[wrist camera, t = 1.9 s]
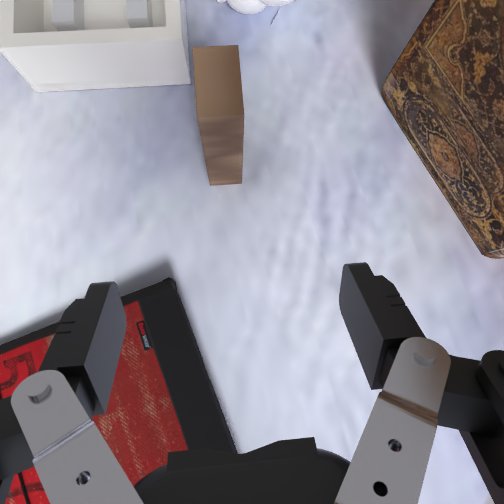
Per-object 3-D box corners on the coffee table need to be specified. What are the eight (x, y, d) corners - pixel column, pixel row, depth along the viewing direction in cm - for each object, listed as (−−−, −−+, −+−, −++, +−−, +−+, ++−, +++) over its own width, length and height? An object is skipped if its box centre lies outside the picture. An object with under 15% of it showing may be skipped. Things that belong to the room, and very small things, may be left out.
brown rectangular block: (210, 185, 29) (197, 117, 19) (206, 136, 30) (192, 47, 20) (241, 183, 29) (244, 115, 20) (237, 134, 30) (238, 45, 20)
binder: (169, 275, 26) (289, 598, 23) (176, 278, 28) (285, 572, 25) (-61, 366, 25) (33, 715, 22) (-34, 361, 28) (53, 677, 25)
